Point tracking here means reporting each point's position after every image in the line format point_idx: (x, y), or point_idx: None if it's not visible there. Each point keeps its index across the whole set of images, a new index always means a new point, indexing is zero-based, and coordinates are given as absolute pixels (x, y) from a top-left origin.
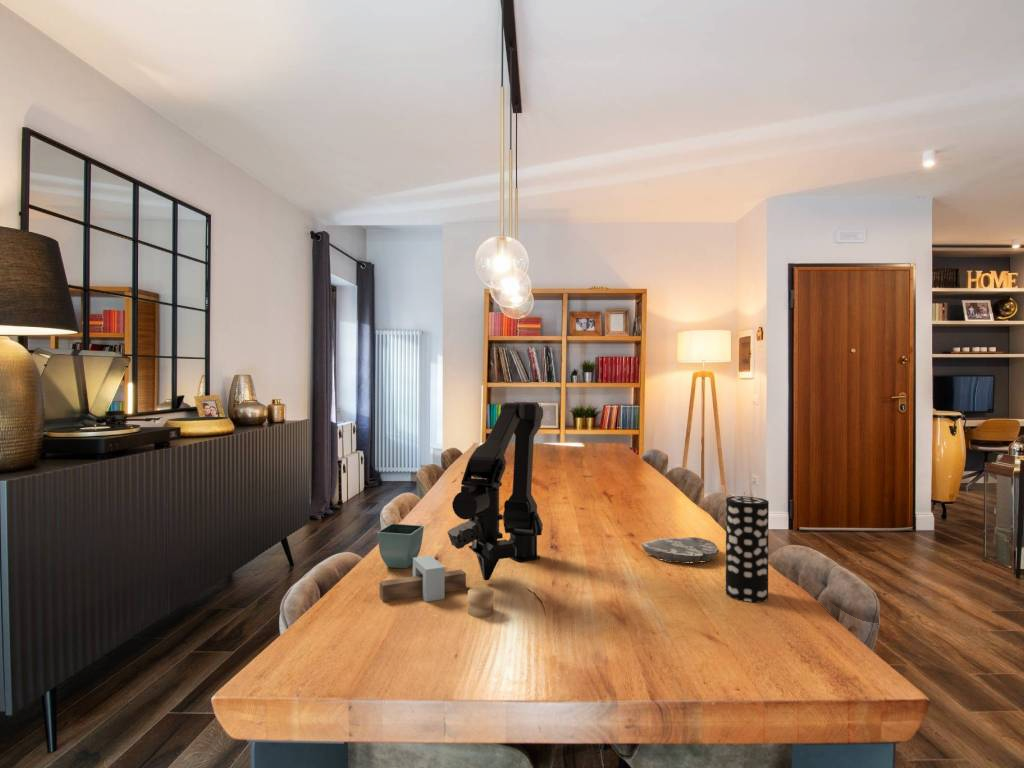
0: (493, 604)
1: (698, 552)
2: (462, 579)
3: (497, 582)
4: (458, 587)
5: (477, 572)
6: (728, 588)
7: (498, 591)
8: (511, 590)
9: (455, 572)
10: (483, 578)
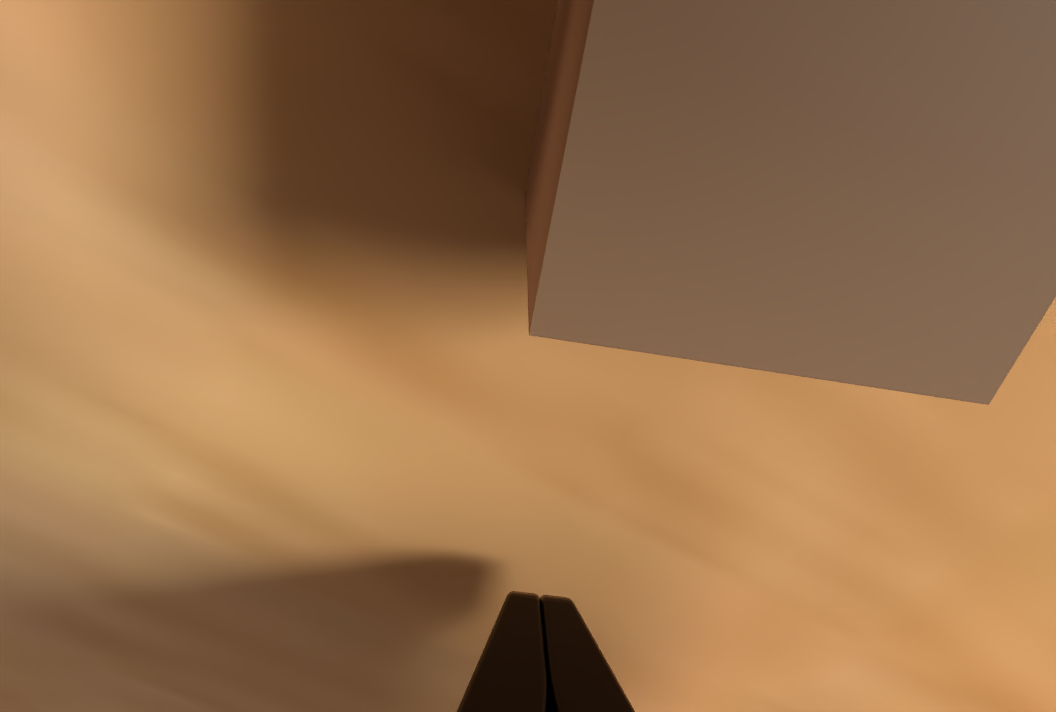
0: None
1: None
2: (545, 153)
3: None
4: (558, 7)
5: (985, 671)
6: None
7: (127, 541)
8: (106, 664)
9: (919, 11)
10: (557, 607)
